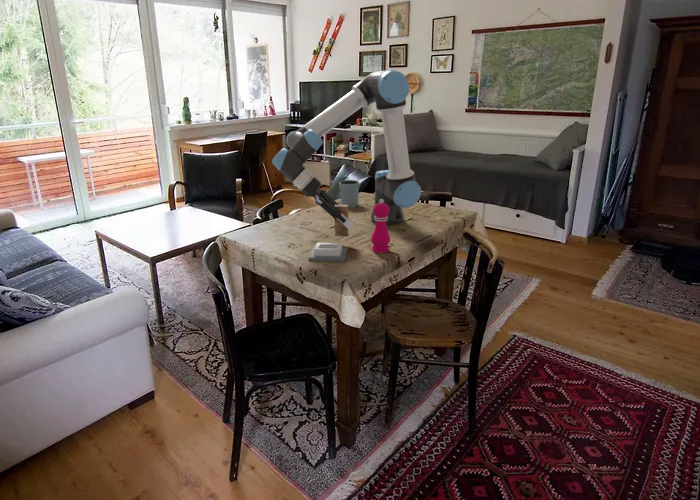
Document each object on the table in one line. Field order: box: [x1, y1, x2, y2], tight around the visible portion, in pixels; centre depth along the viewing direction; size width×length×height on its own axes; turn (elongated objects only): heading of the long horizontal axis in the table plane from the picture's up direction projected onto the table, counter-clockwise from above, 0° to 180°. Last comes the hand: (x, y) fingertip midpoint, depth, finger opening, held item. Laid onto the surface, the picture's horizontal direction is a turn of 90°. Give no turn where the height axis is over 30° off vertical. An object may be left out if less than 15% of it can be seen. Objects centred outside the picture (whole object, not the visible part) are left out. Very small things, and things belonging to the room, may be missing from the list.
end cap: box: [308, 242, 348, 263], centre depth 172 cm, size 13×11×4 cm
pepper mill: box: [370, 199, 391, 254], centre depth 174 cm, size 7×7×20 cm
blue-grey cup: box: [338, 179, 360, 208], centre depth 237 cm, size 10×10×12 cm
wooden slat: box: [334, 204, 349, 237], centre depth 180 cm, size 5×2×12 cm, turn 85°
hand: (351, 225), depth 181 cm, fingers closed on wooden slat, 2 cm apart
